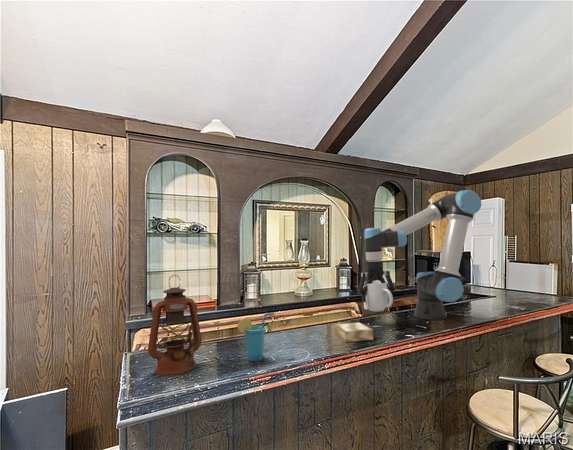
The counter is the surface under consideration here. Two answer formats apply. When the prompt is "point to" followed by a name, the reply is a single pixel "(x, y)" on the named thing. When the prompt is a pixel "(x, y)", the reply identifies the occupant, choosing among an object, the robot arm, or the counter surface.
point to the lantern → (176, 355)
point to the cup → (253, 337)
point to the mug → (378, 296)
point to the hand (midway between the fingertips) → (377, 307)
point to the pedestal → (353, 332)
